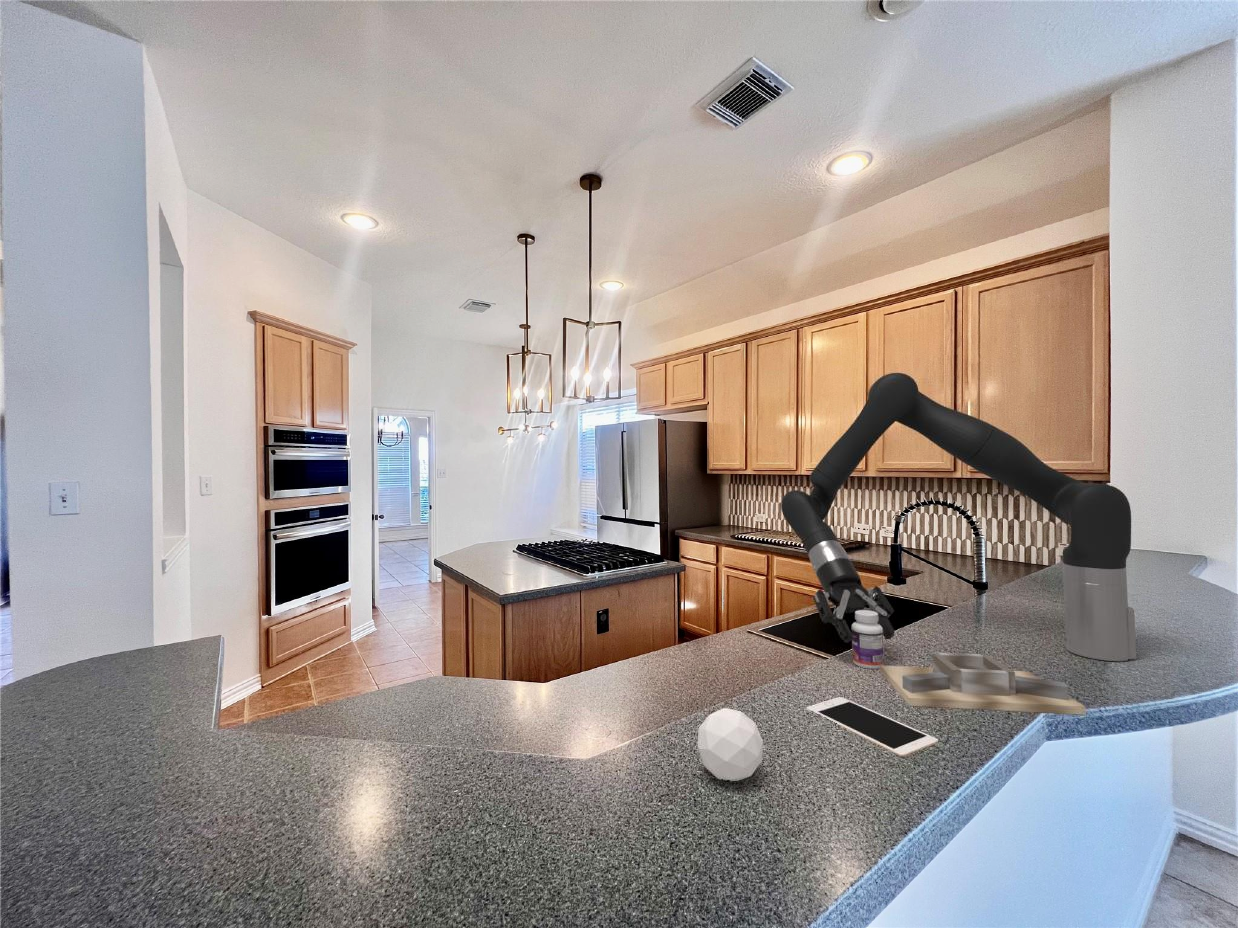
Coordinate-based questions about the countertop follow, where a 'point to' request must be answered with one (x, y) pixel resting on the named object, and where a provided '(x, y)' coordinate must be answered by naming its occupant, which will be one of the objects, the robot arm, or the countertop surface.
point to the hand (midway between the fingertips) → (870, 638)
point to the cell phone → (874, 726)
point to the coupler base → (979, 686)
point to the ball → (730, 745)
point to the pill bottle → (867, 640)
